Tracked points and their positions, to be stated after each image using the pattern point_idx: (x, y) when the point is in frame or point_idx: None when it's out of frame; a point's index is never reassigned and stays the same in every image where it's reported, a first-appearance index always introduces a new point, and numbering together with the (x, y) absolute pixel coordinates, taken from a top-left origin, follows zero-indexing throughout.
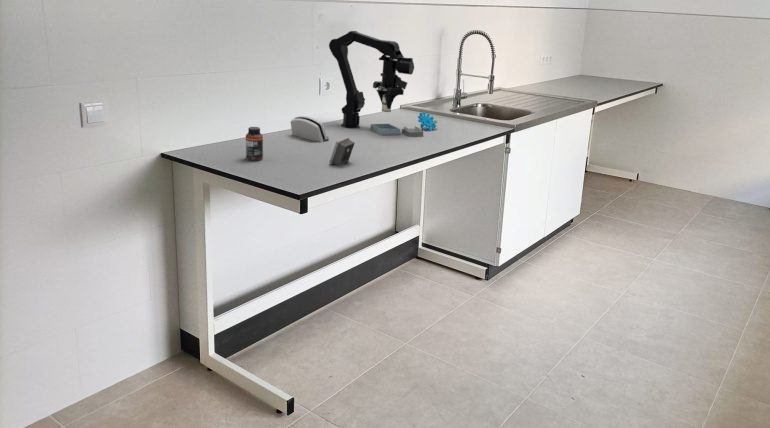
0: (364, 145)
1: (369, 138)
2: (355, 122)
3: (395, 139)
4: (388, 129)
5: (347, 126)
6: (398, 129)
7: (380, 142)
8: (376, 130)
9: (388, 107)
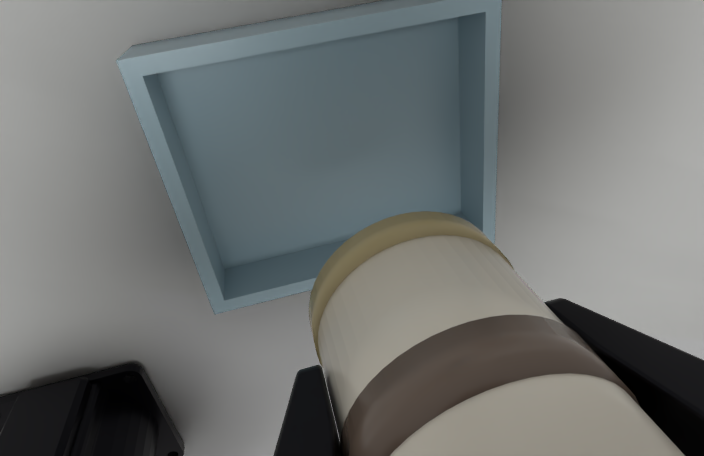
0: None
1: None
2: (132, 436)
3: (643, 113)
4: (495, 164)
5: (168, 453)
6: (496, 16)
7: (676, 259)
8: None
9: None
